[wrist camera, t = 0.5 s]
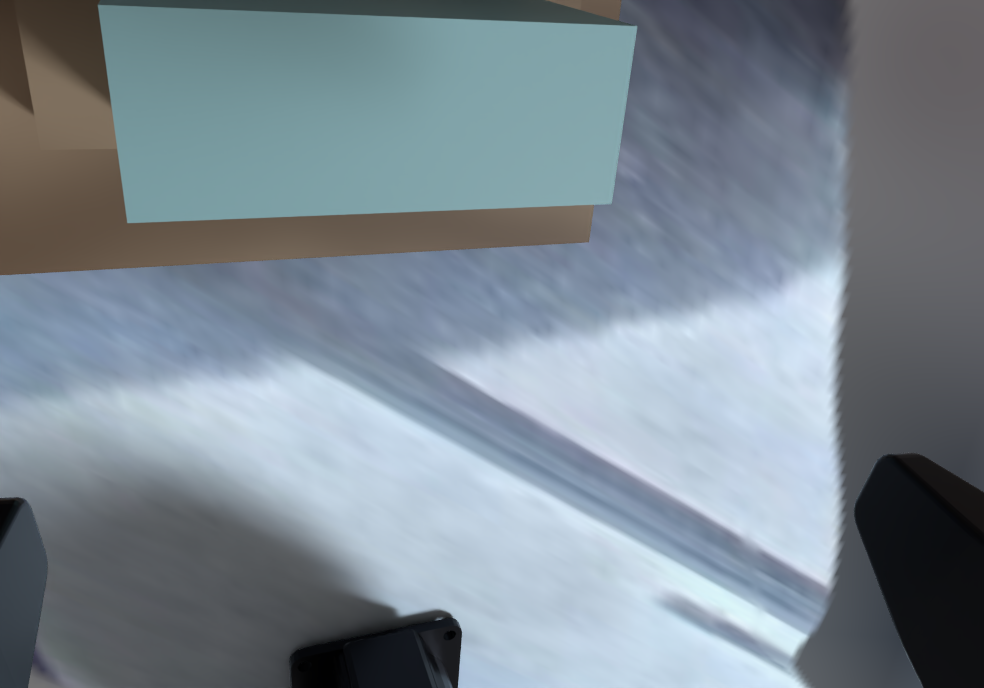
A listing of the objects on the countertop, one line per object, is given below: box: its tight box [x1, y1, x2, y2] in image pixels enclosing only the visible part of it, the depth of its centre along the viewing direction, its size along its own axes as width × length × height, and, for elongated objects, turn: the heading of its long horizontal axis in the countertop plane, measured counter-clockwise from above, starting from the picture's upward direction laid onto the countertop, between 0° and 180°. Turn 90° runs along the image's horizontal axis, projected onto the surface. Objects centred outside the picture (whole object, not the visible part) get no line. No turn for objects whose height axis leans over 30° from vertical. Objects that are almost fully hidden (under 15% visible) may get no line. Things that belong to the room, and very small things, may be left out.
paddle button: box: [98, 0, 637, 223], centre depth 16 cm, size 3×8×8 cm, turn 86°
